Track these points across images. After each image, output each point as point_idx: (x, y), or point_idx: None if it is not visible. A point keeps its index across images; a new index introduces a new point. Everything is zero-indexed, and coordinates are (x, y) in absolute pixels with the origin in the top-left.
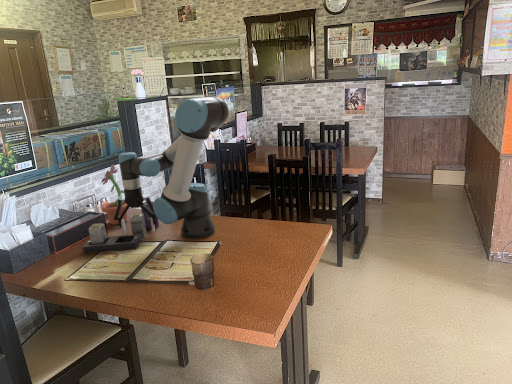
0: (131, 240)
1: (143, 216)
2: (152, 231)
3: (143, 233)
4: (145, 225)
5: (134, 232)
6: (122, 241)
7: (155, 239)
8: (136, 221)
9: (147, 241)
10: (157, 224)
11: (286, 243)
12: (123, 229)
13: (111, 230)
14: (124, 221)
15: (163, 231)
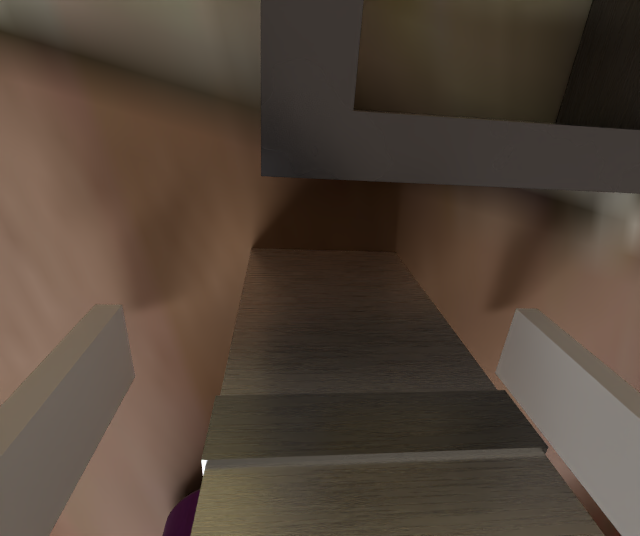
0: (411, 113)
1: None
2: (113, 313)
3: (248, 274)
4: None
5: (388, 288)
6: (540, 122)
7: (44, 128)
8: (369, 447)
9: (156, 72)
10: (164, 529)
11: None
12: (576, 355)
13: None
14: (620, 528)
15: None
